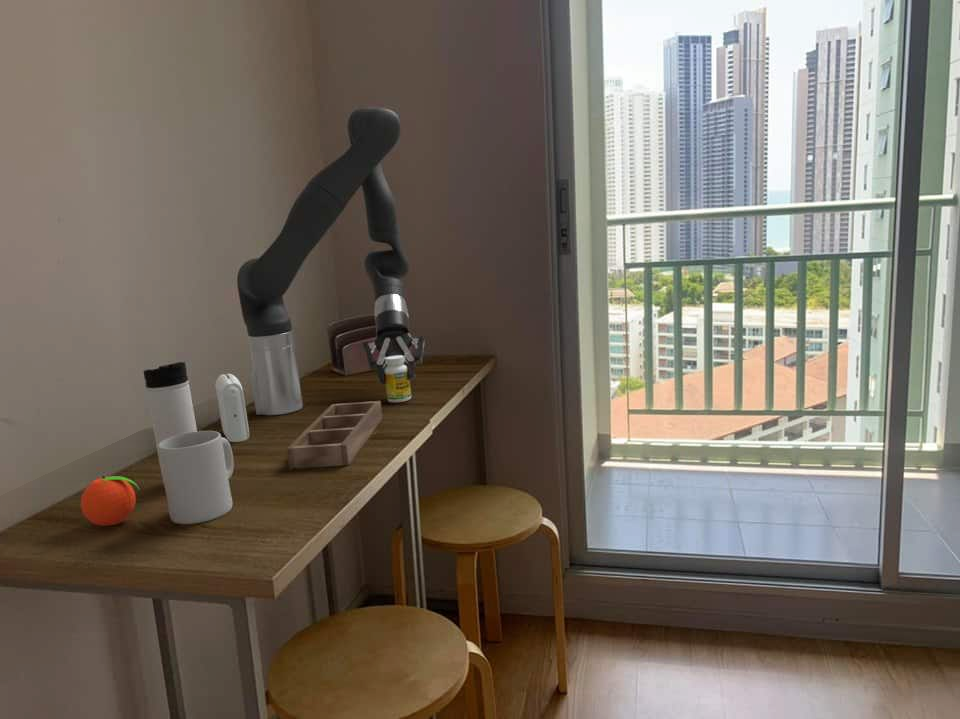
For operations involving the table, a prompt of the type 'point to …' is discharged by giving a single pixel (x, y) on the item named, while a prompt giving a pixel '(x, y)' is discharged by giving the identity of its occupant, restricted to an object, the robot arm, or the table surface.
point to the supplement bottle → (397, 379)
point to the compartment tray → (335, 435)
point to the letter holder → (352, 344)
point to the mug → (197, 476)
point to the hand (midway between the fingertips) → (397, 380)
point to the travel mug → (169, 402)
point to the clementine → (108, 500)
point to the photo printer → (232, 408)
